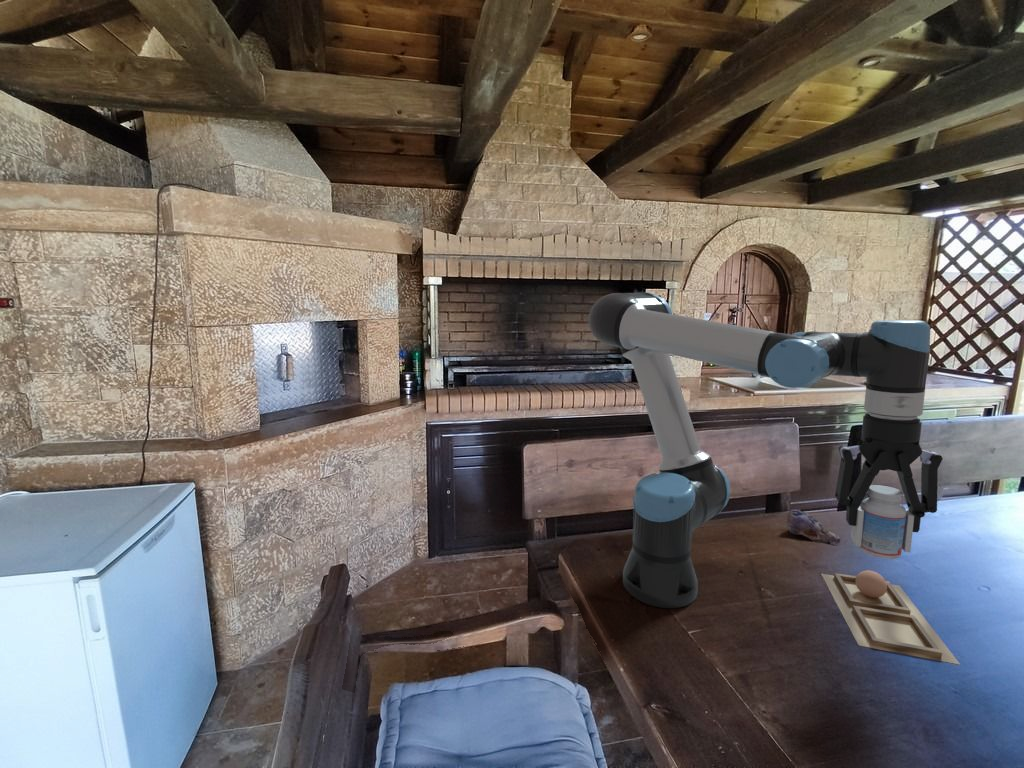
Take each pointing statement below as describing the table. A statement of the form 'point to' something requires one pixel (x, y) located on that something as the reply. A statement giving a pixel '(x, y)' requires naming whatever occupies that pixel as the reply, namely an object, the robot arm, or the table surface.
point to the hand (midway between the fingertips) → (879, 545)
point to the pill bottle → (883, 522)
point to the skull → (809, 527)
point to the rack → (886, 620)
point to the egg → (871, 584)
